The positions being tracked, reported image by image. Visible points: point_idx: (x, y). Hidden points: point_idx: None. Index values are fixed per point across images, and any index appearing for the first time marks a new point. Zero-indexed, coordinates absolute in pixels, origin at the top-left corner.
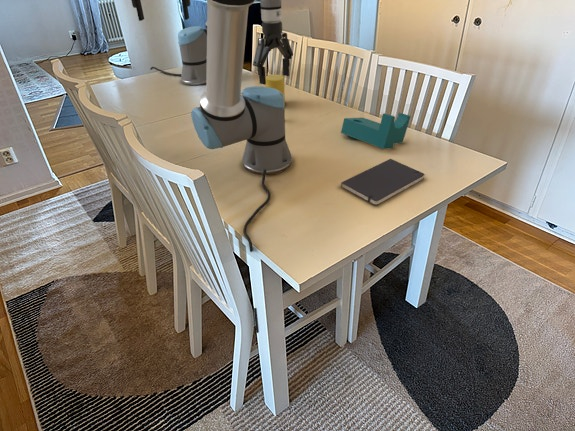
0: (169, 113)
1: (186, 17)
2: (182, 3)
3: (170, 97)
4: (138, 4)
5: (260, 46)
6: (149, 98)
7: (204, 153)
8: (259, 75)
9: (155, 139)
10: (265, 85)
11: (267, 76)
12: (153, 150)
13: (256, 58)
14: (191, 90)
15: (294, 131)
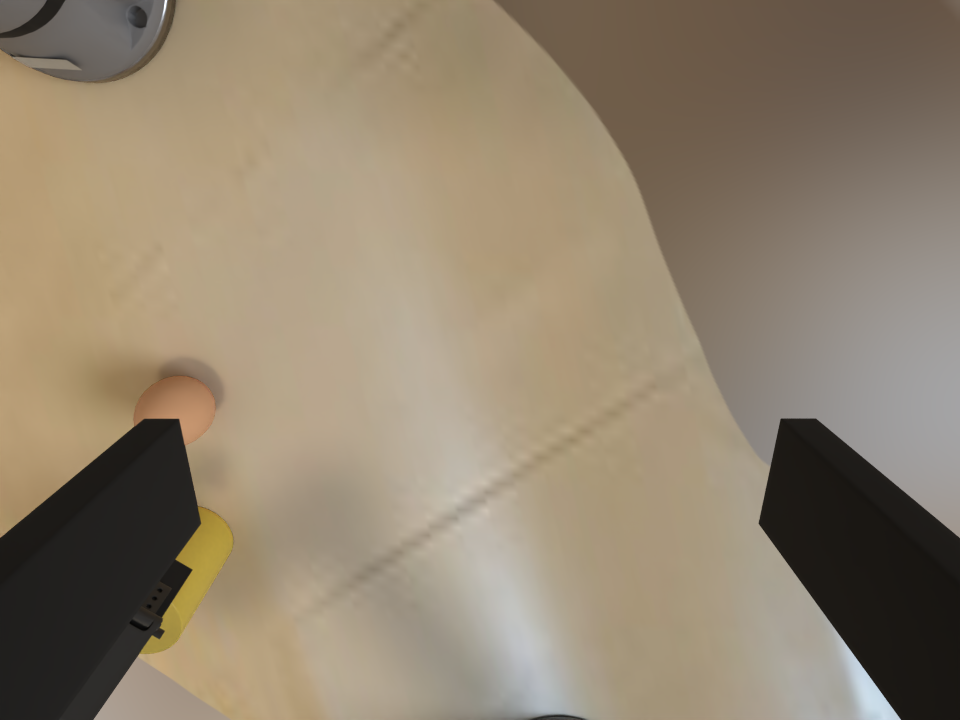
0: (603, 471)
1: (133, 431)
2: (27, 554)
3: (630, 615)
4: (917, 569)
5: (63, 713)
6: (713, 609)
7: (369, 77)
8: (164, 585)
9: (609, 224)
10: (185, 581)
11: (170, 632)
12: (594, 113)
13: (122, 646)
14: (560, 674)
15: (48, 285)
